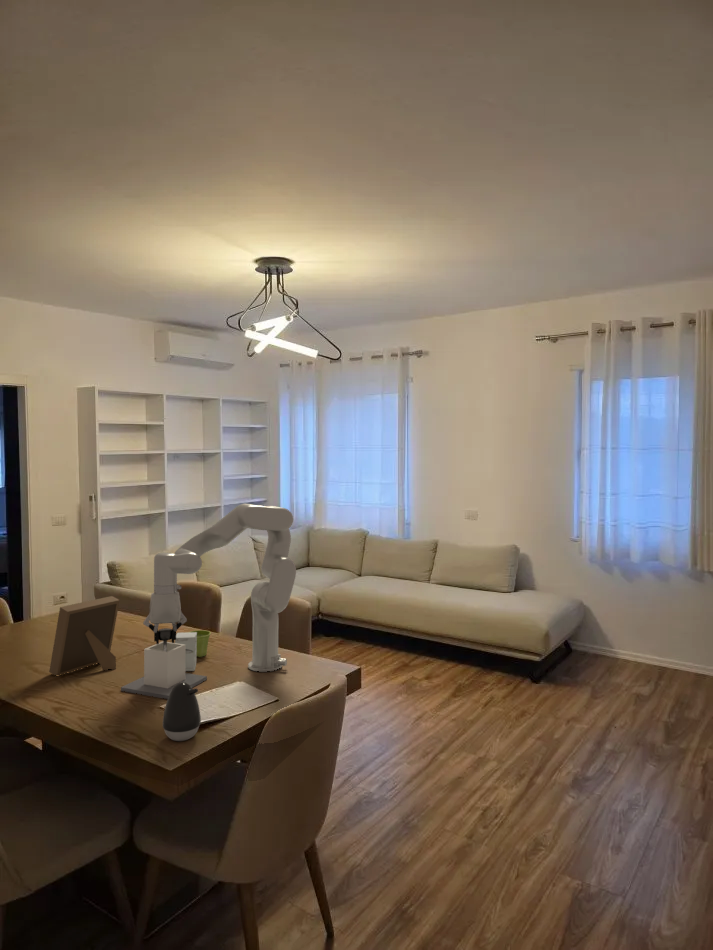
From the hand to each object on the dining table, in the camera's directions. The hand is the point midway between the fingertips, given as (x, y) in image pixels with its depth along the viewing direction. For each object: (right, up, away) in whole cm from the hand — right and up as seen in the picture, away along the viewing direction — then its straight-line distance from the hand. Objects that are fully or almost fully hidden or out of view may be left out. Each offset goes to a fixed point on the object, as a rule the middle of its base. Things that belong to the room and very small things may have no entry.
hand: (165, 642), depth 214 cm
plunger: (0, -13, 0) cm, 13 cm away
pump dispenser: (+17, -16, -39) cm, 46 cm away
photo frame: (-32, -14, +15) cm, 38 cm away
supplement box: (+2, -15, +18) cm, 23 cm away
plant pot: (+3, -14, +33) cm, 36 cm away
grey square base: (0, -15, 0) cm, 15 cm away
